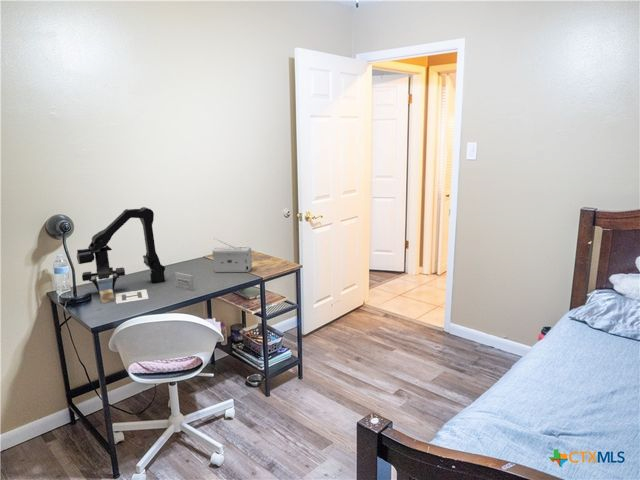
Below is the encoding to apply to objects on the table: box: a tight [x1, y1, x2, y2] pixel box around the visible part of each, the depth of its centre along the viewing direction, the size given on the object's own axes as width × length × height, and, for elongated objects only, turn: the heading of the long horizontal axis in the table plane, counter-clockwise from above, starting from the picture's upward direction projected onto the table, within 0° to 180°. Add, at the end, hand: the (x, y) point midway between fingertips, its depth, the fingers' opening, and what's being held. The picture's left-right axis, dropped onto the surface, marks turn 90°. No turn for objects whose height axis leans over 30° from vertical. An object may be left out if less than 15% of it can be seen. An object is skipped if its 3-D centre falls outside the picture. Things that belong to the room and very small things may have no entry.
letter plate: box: [115, 288, 149, 304], centre depth 214 cm, size 14×14×1 cm
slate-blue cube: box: [97, 278, 114, 295], centre depth 219 cm, size 6×6×6 cm
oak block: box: [99, 289, 115, 304], centre depth 208 cm, size 5×5×5 cm
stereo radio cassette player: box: [211, 237, 253, 274], centre depth 249 cm, size 21×8×20 cm, turn 90°
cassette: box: [174, 271, 195, 291], centre depth 224 cm, size 12×2×8 cm, turn 59°
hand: (106, 290), depth 219 cm, fingers closed on slate-blue cube, 6 cm apart
